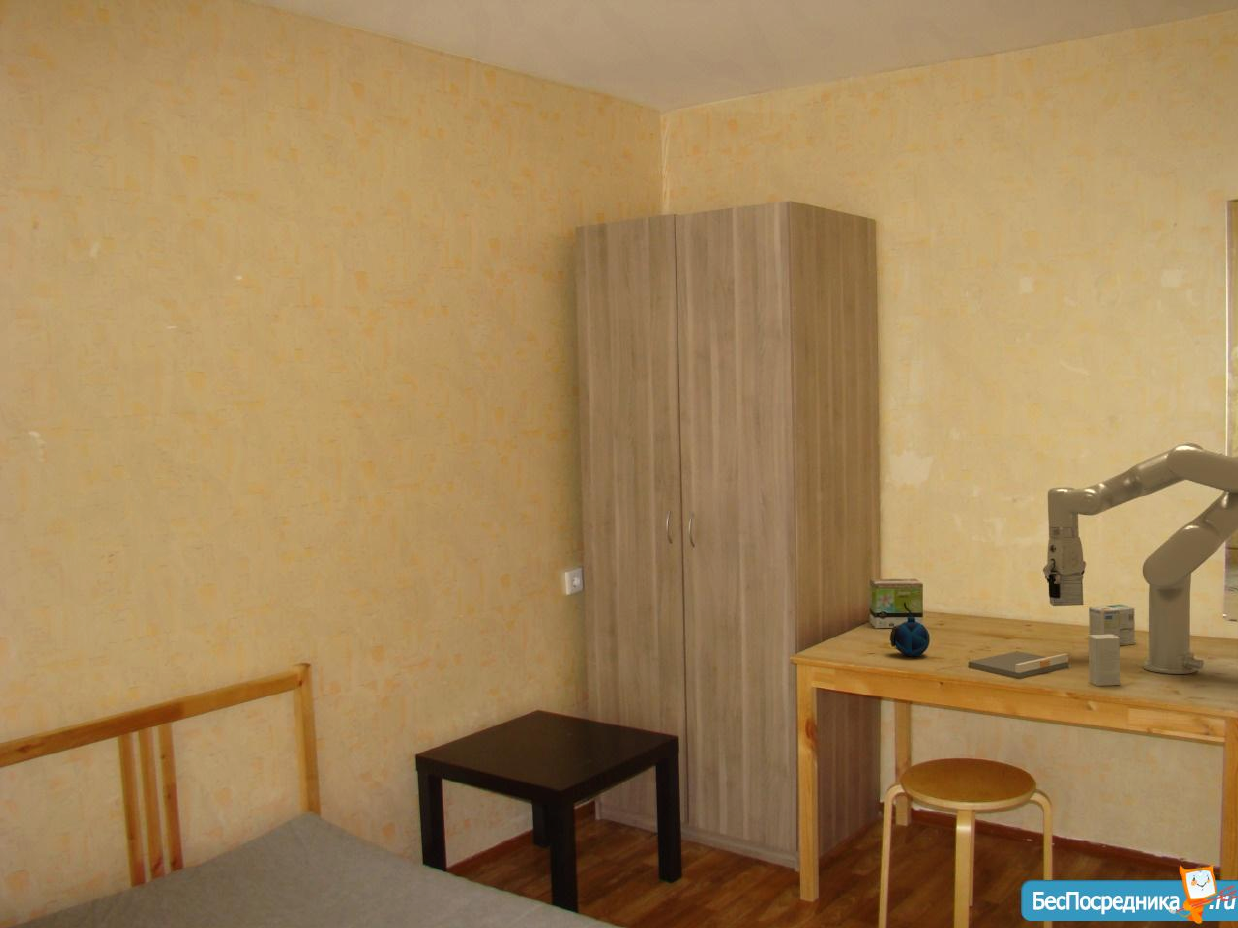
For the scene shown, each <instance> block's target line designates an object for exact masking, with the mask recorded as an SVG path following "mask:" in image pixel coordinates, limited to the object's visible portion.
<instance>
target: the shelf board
mask: <svg viewBox="0 0 1238 928" xmlns="http://www.w3.org/2000/svg"><path fill="white" fill-rule="evenodd" d="M968 668H969V669H970V668H972V669H975V670H980V671H983V672H988V673H992V674H996V675H997V674H998V675H1001V676H1006V677H1011V678H1013V679H1014V678H1015V679H1018V678H1020V679H1024V678H1028V677H1033V676H1035V675H1036V676H1037V675H1040V674H1044V673H1048V672H1054V671H1058V670H1062V669H1066V668H1069V653H1060V654H1055V655H1052V656H1044V655H1038V654H1033V653H1029V652H1023V651H1013V652H1012V651H1011V652H1007V653H1003V654H998V655H994V656H989V657H983V658H980V659H976V660H975V659H974V660H971V661H968Z"/></svg>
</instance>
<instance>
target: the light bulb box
mask: <svg viewBox="0 0 1238 928" xmlns="http://www.w3.org/2000/svg"><path fill="white" fill-rule="evenodd" d="M1088 608H1089V609H1088V614H1089V615H1088V616H1089V617H1088V618H1089V620H1088V621H1089V635H1109V634H1112V635H1114V636H1117V637H1119V638H1120V646H1125V645H1126V646H1127V645H1135V644H1136V643H1135V642H1136V640H1135V639H1136V637H1135V635H1136V633H1135V631H1136V630H1135V625H1136V624H1135V621H1136V620H1135V607H1133V606H1128V605H1124V604H1120V603H1119V604H1110V605H1101V606H1100V605H1099V606H1089V607H1088Z"/></svg>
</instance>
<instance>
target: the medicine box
mask: <svg viewBox="0 0 1238 928" xmlns="http://www.w3.org/2000/svg"><path fill="white" fill-rule="evenodd" d="M1053 576H1054V575H1053ZM1055 577H1056V576H1054V578H1055ZM1083 579H1084V574H1083V575H1082V574H1080V573H1078V574H1074V575H1068V576H1062V575H1061V577H1060V580H1059V582H1058V584H1060V598H1050V597H1049V604H1050V605H1051V606H1052V607H1066V606H1067V607H1068V606H1070V607H1071V606H1073V607H1074V606H1084V584H1083V583H1084V582H1083V581H1084V580H1083Z"/></svg>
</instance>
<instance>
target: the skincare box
mask: <svg viewBox="0 0 1238 928" xmlns="http://www.w3.org/2000/svg"><path fill="white" fill-rule="evenodd" d="M1120 646H1121V645H1120V638H1119V637H1117V636H1114V635H1112V634H1109V635H1090V634H1089V635H1088V654H1089V656H1088V658H1089V660H1088V661H1089V662H1088V663H1089V665H1088V666H1089V667H1088V668H1089V683H1090V682H1091V683H1090V684H1093V685H1094V686H1096V687H1105V686H1107V687H1108V686H1109V687H1110V686H1120V685H1121V650H1120V648H1121V647H1120Z"/></svg>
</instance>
